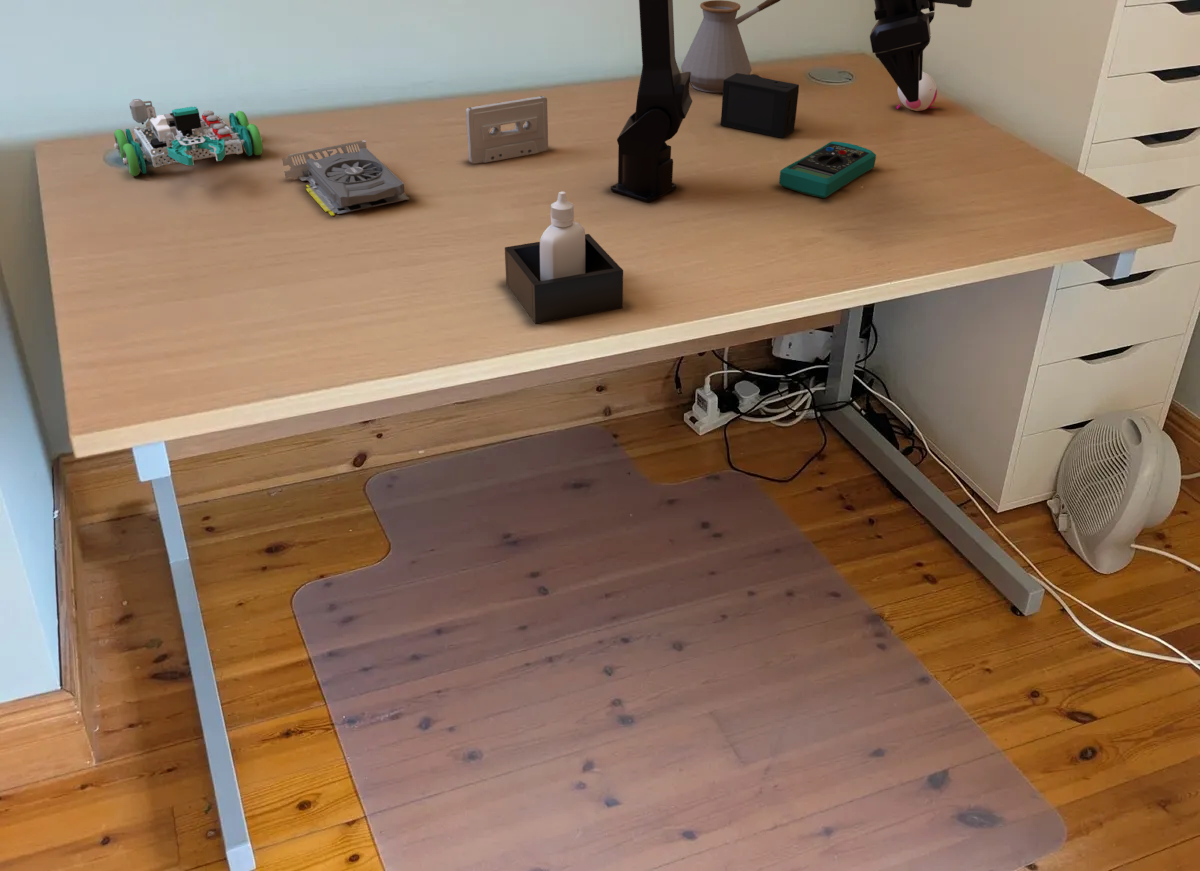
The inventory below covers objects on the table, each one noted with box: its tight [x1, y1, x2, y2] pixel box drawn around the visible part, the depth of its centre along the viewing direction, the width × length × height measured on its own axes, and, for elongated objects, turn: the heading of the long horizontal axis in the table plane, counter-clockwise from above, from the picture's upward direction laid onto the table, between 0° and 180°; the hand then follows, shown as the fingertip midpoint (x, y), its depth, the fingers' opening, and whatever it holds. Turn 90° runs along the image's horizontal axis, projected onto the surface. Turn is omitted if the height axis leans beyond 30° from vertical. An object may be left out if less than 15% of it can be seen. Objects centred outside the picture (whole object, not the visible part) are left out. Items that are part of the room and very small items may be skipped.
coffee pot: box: [680, 0, 781, 94], centre depth 185 cm, size 21×12×15 cm, turn 115°
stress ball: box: [896, 71, 938, 112], centre depth 178 cm, size 8×8×7 cm
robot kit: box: [113, 98, 264, 177], centre depth 153 cm, size 19×25×9 cm
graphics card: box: [281, 139, 410, 217], centre depth 148 cm, size 17×4×12 cm
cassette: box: [465, 95, 549, 165], centre depth 158 cm, size 12×2×8 cm, turn 118°
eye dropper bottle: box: [539, 191, 586, 281], centre depth 122 cm, size 4×6×12 cm
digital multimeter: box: [778, 140, 877, 199], centre depth 154 cm, size 7×15×3 cm, turn 142°
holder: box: [504, 233, 624, 325], centre depth 124 cm, size 10×10×4 cm
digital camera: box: [720, 73, 800, 139], centre depth 169 cm, size 10×5×7 cm, turn 58°
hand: (915, 90), depth 135 cm, fingers open, 9 cm apart
